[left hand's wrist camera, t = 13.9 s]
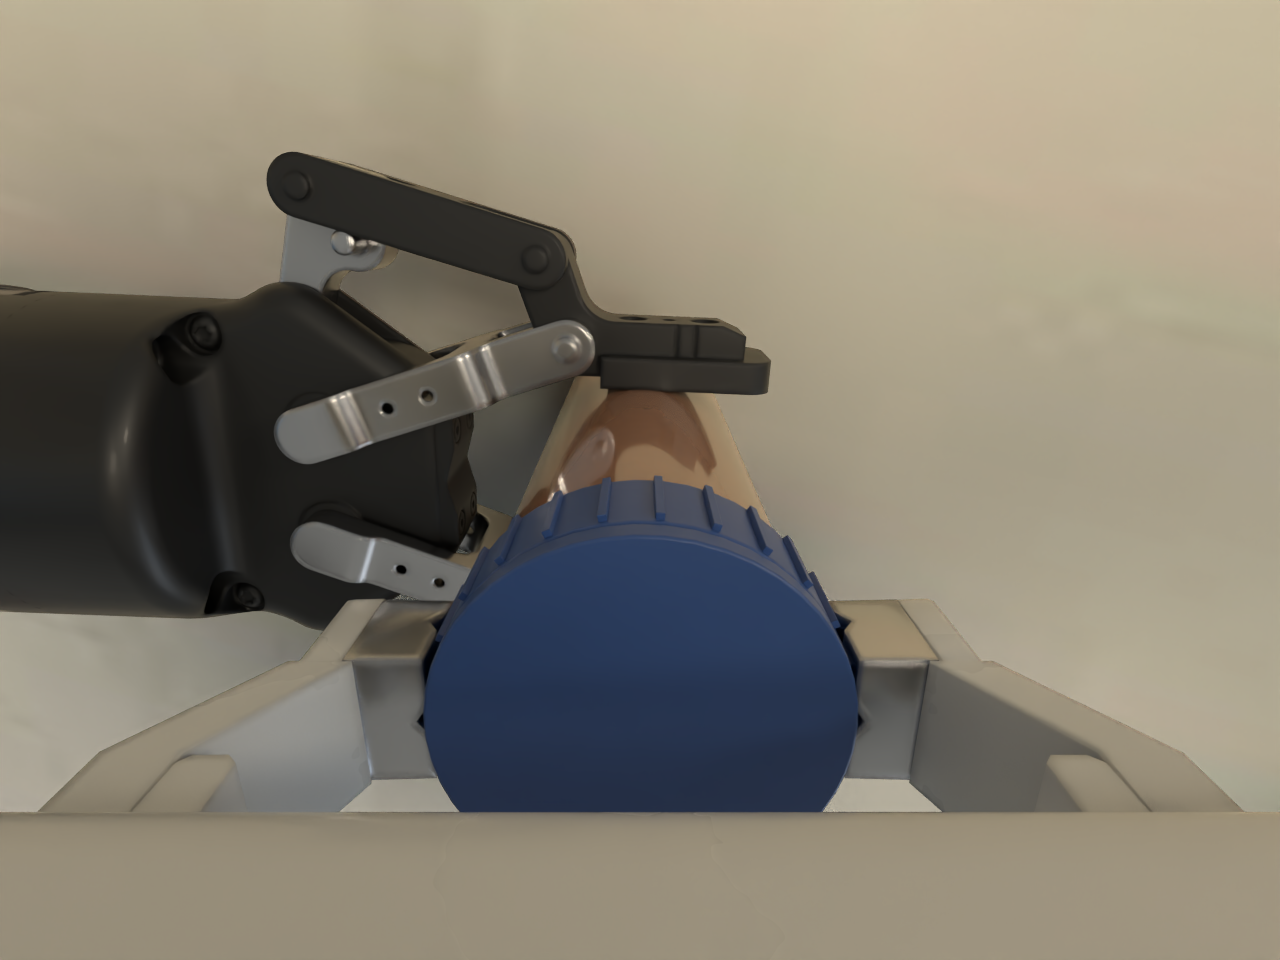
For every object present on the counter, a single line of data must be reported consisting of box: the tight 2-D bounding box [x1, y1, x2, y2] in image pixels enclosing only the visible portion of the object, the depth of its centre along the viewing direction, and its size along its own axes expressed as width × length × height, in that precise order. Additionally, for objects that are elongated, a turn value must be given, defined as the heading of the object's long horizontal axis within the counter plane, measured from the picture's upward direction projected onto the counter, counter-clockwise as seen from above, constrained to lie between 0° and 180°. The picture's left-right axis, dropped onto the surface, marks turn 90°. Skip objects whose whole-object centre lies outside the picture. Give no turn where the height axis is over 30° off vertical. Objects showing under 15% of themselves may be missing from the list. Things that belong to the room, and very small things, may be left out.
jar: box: [515, 376, 771, 527], centre depth 16 cm, size 5×5×15 cm
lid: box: [423, 475, 858, 812], centre depth 9 cm, size 5×5×2 cm
